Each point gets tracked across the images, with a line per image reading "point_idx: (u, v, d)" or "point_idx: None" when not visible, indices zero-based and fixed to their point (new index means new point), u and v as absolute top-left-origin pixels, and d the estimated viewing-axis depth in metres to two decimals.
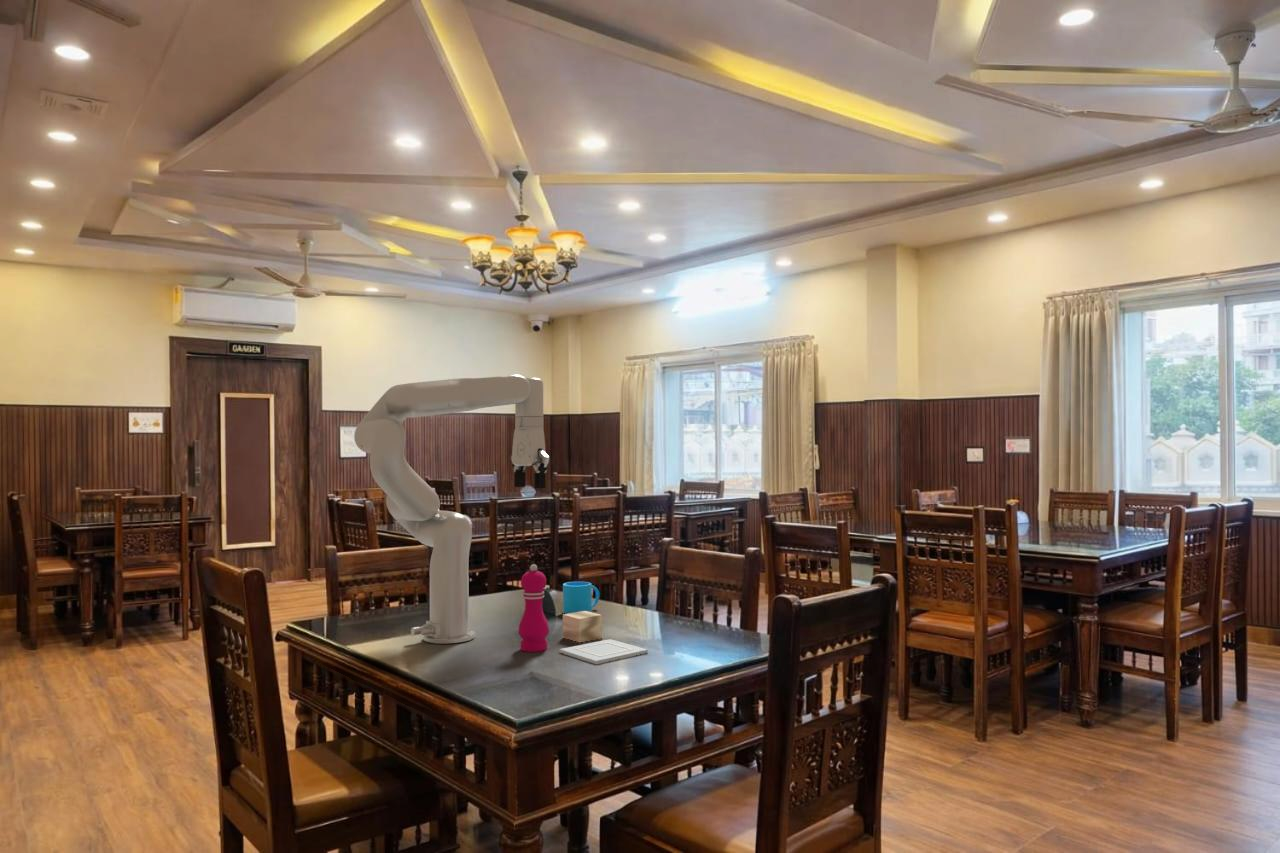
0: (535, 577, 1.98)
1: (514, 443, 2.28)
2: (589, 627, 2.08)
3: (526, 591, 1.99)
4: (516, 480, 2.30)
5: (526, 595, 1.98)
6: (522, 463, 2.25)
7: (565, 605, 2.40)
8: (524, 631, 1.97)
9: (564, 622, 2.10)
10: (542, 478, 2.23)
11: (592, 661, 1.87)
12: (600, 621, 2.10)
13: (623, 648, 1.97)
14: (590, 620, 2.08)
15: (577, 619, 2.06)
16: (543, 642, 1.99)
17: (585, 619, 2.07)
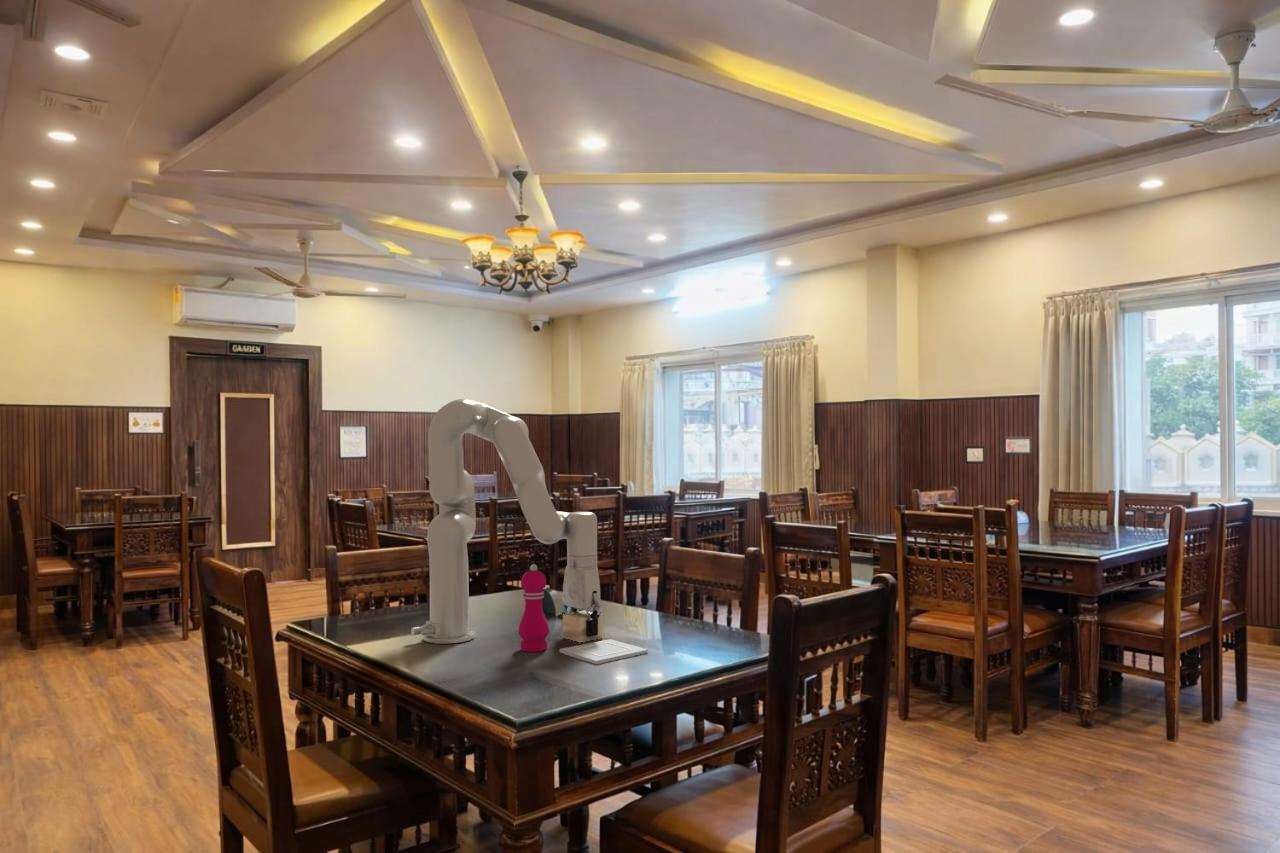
0: (535, 577, 1.98)
1: (565, 582, 2.12)
2: None
3: (526, 591, 1.99)
4: None
5: (526, 595, 1.98)
6: (575, 606, 2.08)
7: None
8: (524, 631, 1.97)
9: (564, 621, 2.10)
10: (595, 625, 2.07)
11: (592, 661, 1.87)
12: (600, 621, 2.10)
13: (623, 648, 1.97)
14: None
15: (577, 619, 2.06)
16: (543, 642, 1.99)
17: (585, 619, 2.07)
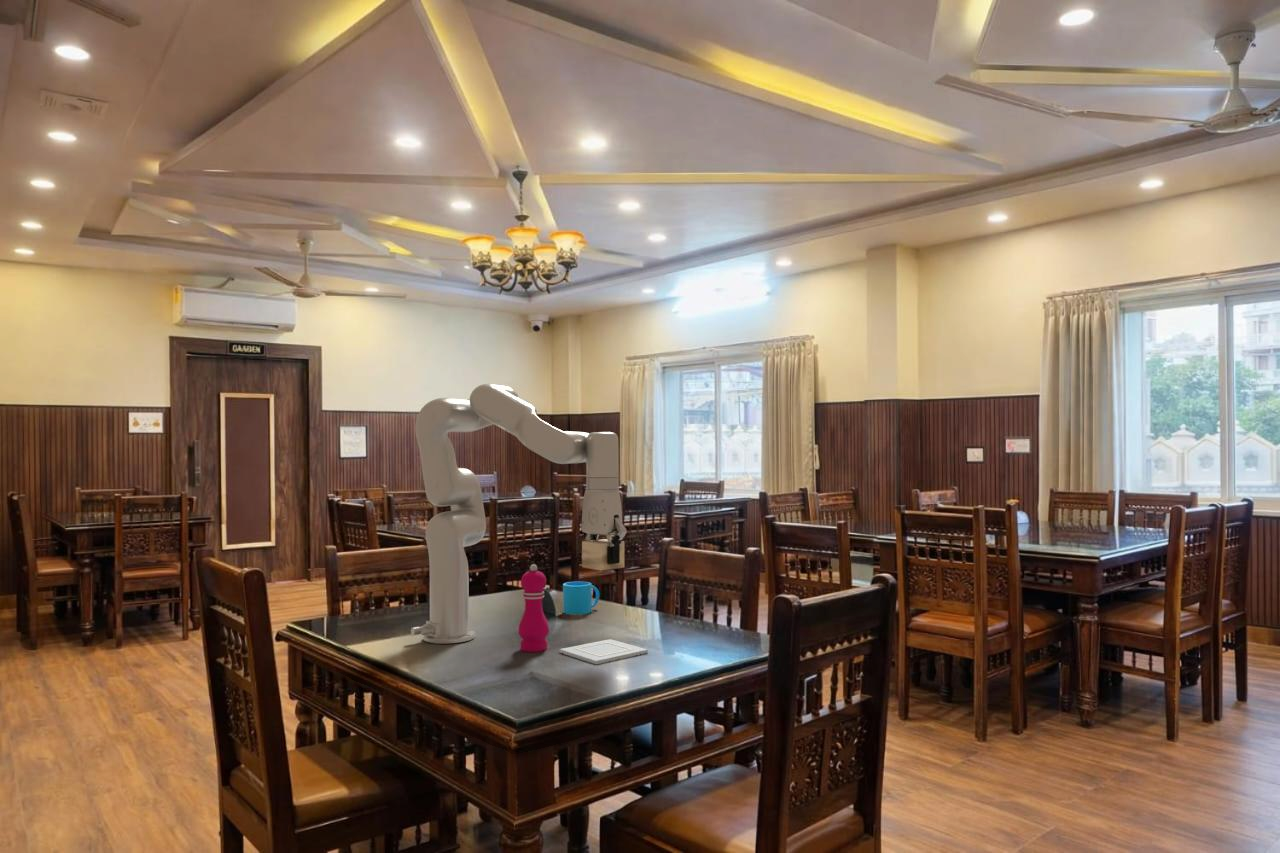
0: (535, 577, 1.98)
1: (585, 507, 1.97)
2: None
3: (526, 591, 1.99)
4: None
5: (526, 595, 1.98)
6: (595, 531, 1.94)
7: (565, 605, 2.40)
8: (524, 631, 1.97)
9: (584, 549, 1.96)
10: (616, 552, 1.93)
11: (592, 661, 1.87)
12: (622, 548, 1.96)
13: (623, 648, 1.97)
14: None
15: (598, 544, 1.92)
16: (543, 642, 1.99)
17: (606, 545, 1.93)
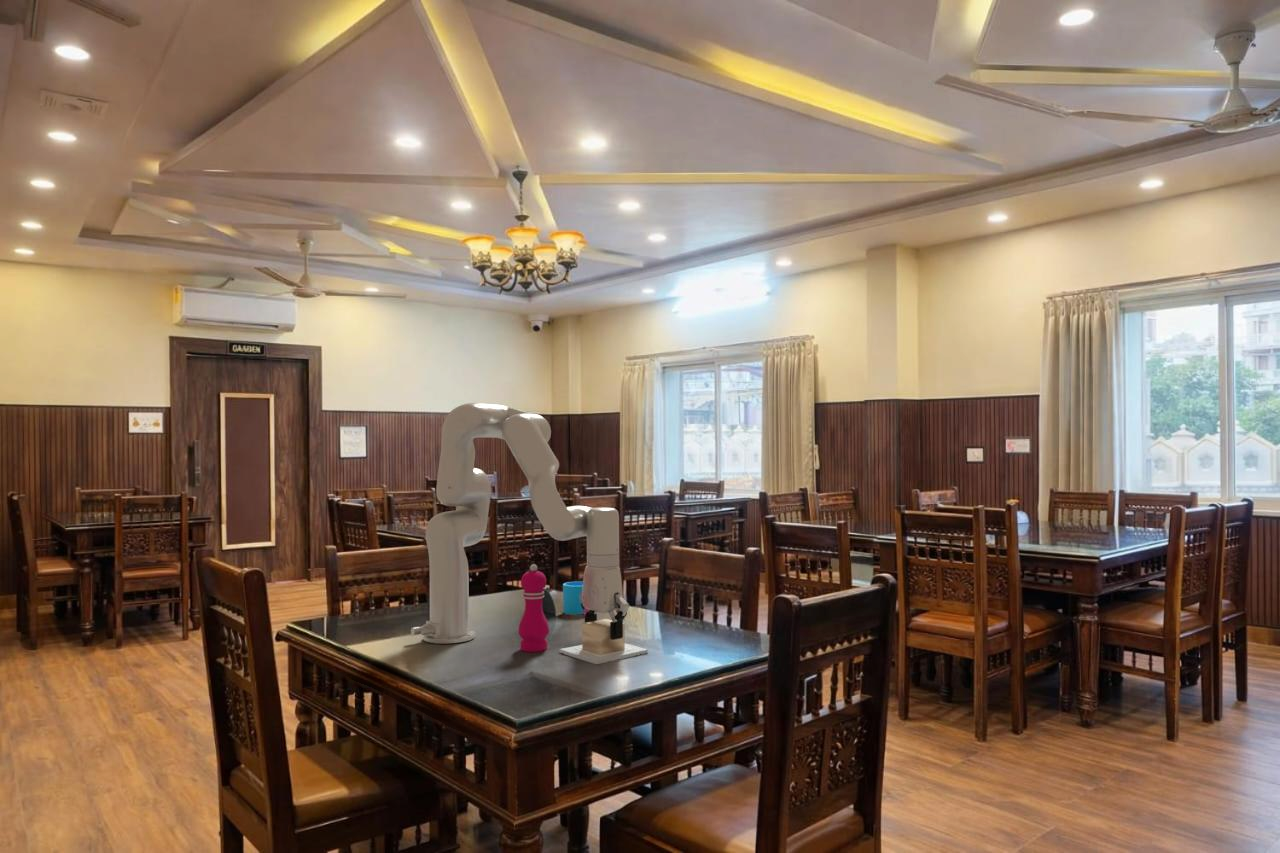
0: (535, 577, 1.98)
1: (585, 583, 1.97)
2: None
3: (526, 591, 1.99)
4: None
5: (526, 595, 1.98)
6: (595, 609, 1.94)
7: (565, 605, 2.40)
8: (524, 631, 1.97)
9: (584, 631, 1.96)
10: (619, 627, 1.92)
11: (592, 661, 1.87)
12: None
13: None
14: None
15: (598, 628, 1.92)
16: (543, 642, 1.99)
17: (607, 628, 1.92)
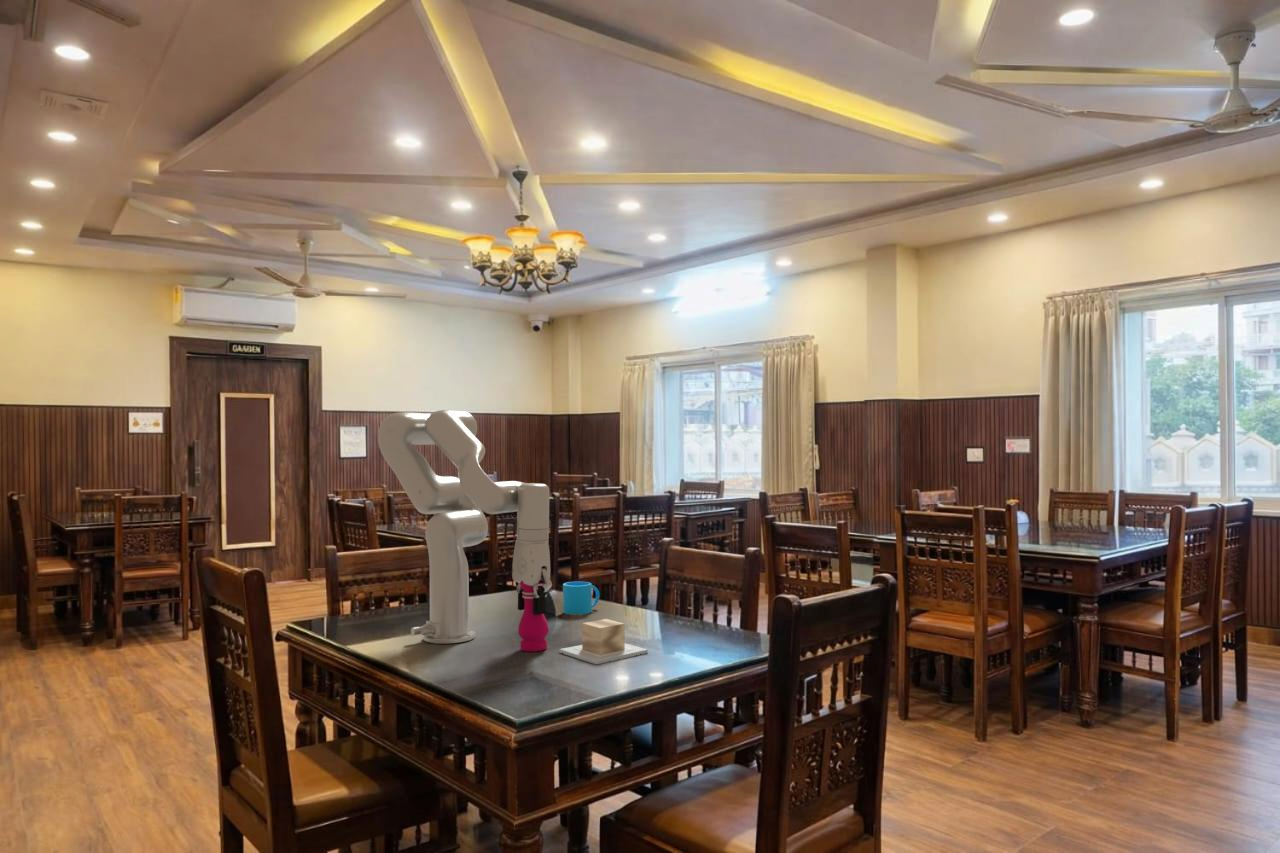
0: None
1: (515, 556, 2.01)
2: (611, 637, 1.93)
3: (525, 591, 1.99)
4: (520, 602, 2.02)
5: (525, 595, 1.99)
6: (523, 581, 1.98)
7: (565, 605, 2.40)
8: (524, 631, 1.97)
9: (584, 631, 1.96)
10: (542, 603, 1.98)
11: (592, 661, 1.87)
12: (622, 630, 1.95)
13: None
14: (611, 629, 1.93)
15: (598, 628, 1.92)
16: (543, 641, 1.99)
17: (607, 628, 1.92)
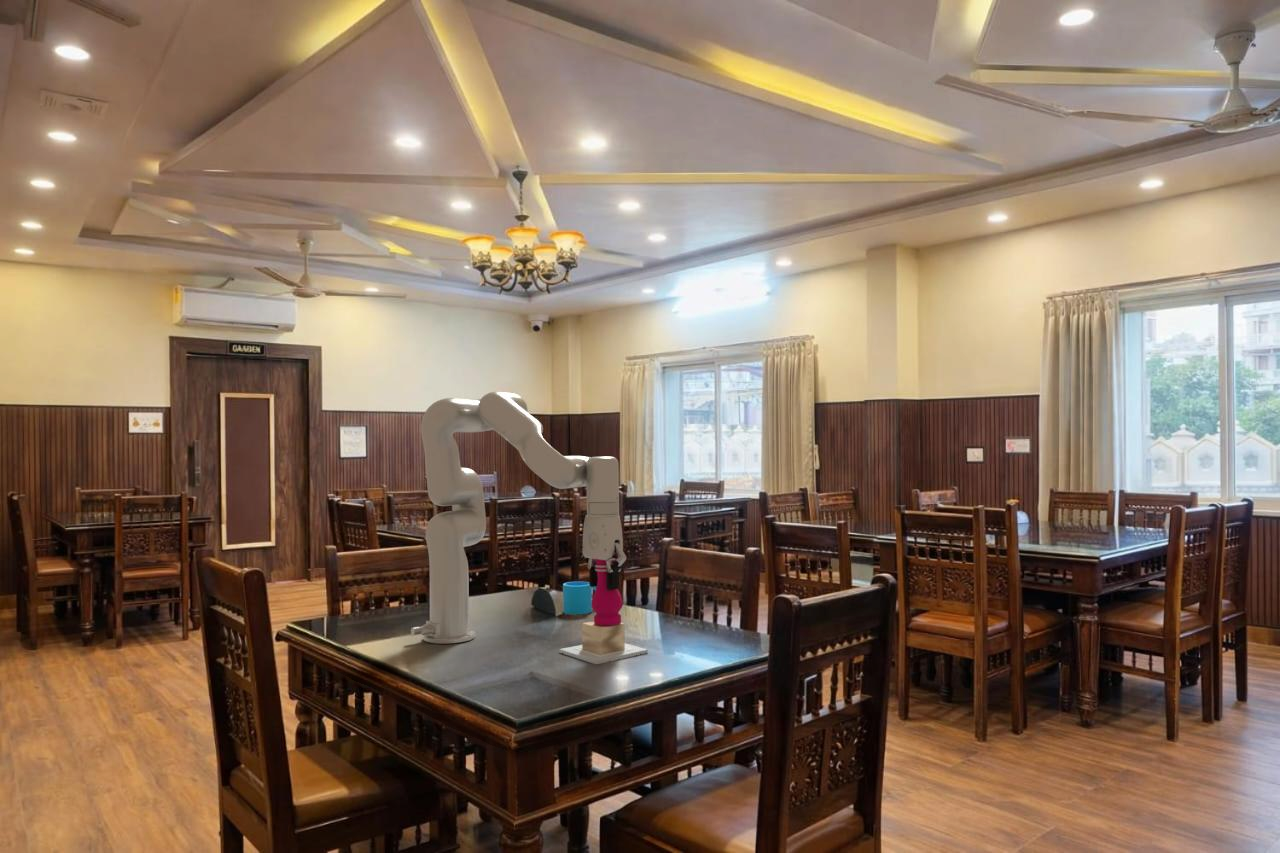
0: None
1: (585, 532, 1.97)
2: (611, 637, 1.93)
3: (598, 563, 1.95)
4: (591, 579, 1.97)
5: (599, 567, 1.94)
6: (596, 556, 1.94)
7: (565, 605, 2.40)
8: (598, 604, 1.93)
9: (584, 631, 1.96)
10: (615, 578, 1.93)
11: (592, 661, 1.87)
12: (622, 630, 1.95)
13: None
14: (611, 629, 1.93)
15: (598, 628, 1.92)
16: (617, 615, 1.94)
17: (607, 628, 1.92)
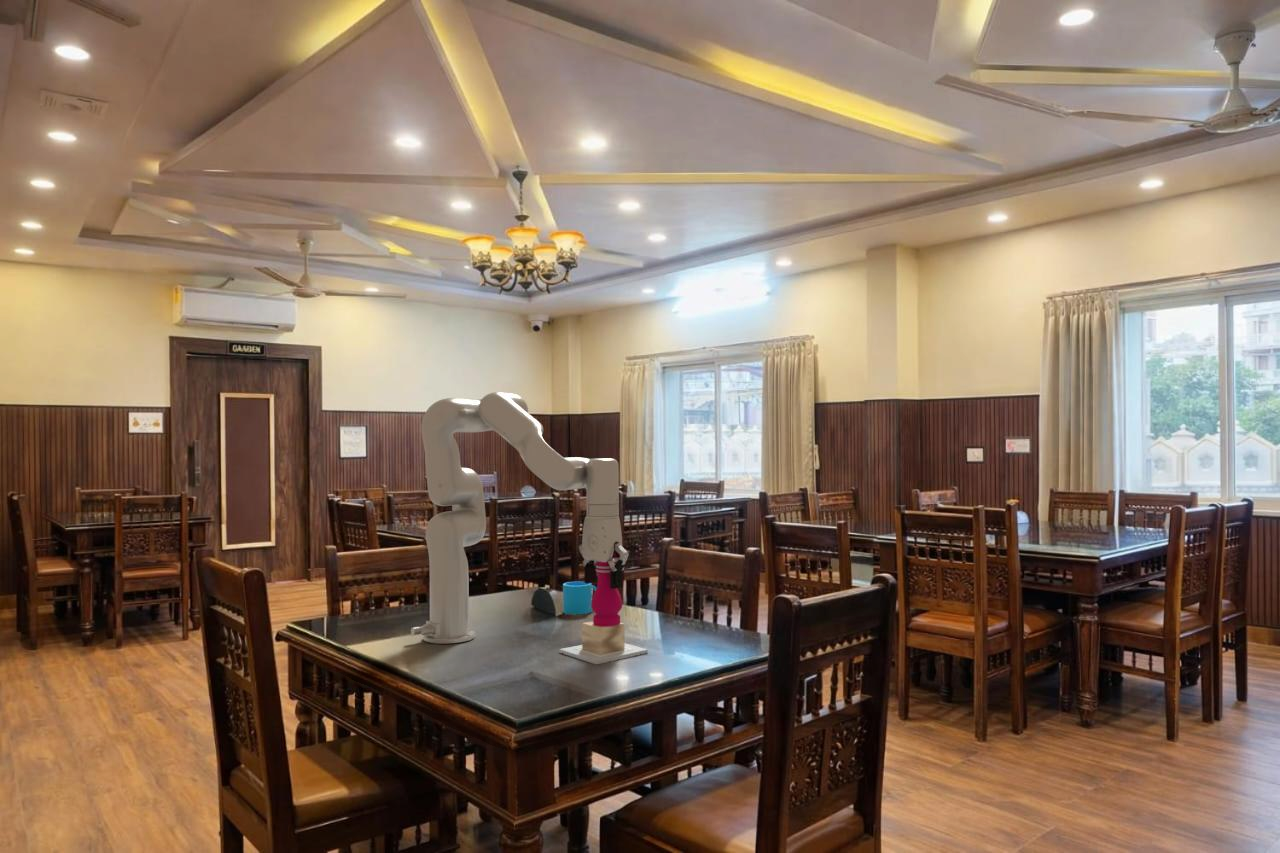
0: None
1: (585, 533, 1.97)
2: (610, 637, 1.93)
3: (599, 564, 1.95)
4: (586, 576, 1.99)
5: (599, 568, 1.94)
6: (595, 558, 1.94)
7: (565, 605, 2.40)
8: (598, 605, 1.93)
9: (584, 631, 1.96)
10: (619, 577, 1.92)
11: (592, 661, 1.87)
12: (622, 630, 1.95)
13: None
14: (611, 629, 1.93)
15: (598, 628, 1.92)
16: (617, 616, 1.94)
17: (606, 628, 1.92)
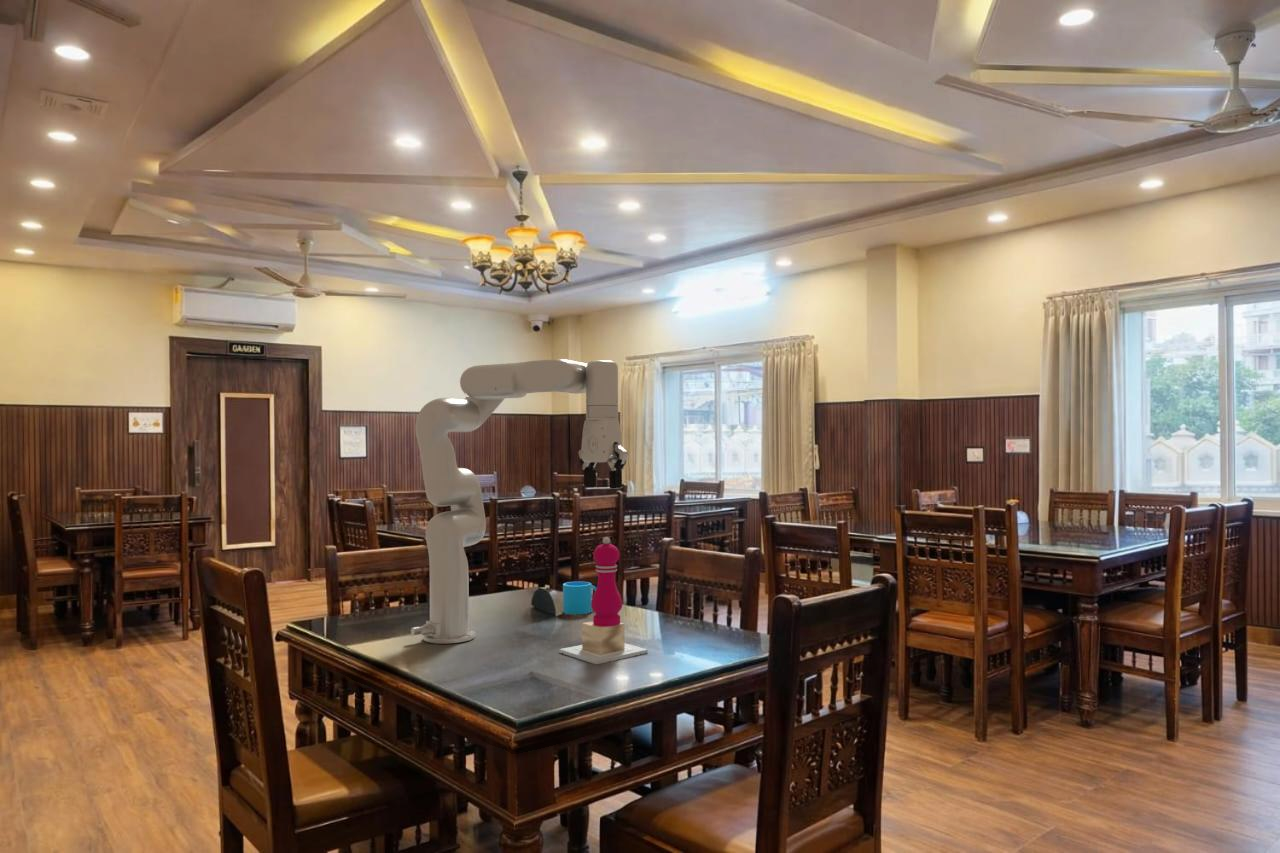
0: (609, 549, 1.94)
1: (584, 436, 1.98)
2: (610, 637, 1.93)
3: (599, 564, 1.95)
4: (586, 479, 1.99)
5: (599, 568, 1.94)
6: (595, 459, 1.94)
7: (565, 605, 2.40)
8: (598, 605, 1.93)
9: (584, 631, 1.96)
10: (619, 477, 1.92)
11: (592, 661, 1.87)
12: (622, 630, 1.95)
13: None
14: (611, 629, 1.93)
15: (598, 628, 1.92)
16: (617, 616, 1.94)
17: (606, 628, 1.92)
